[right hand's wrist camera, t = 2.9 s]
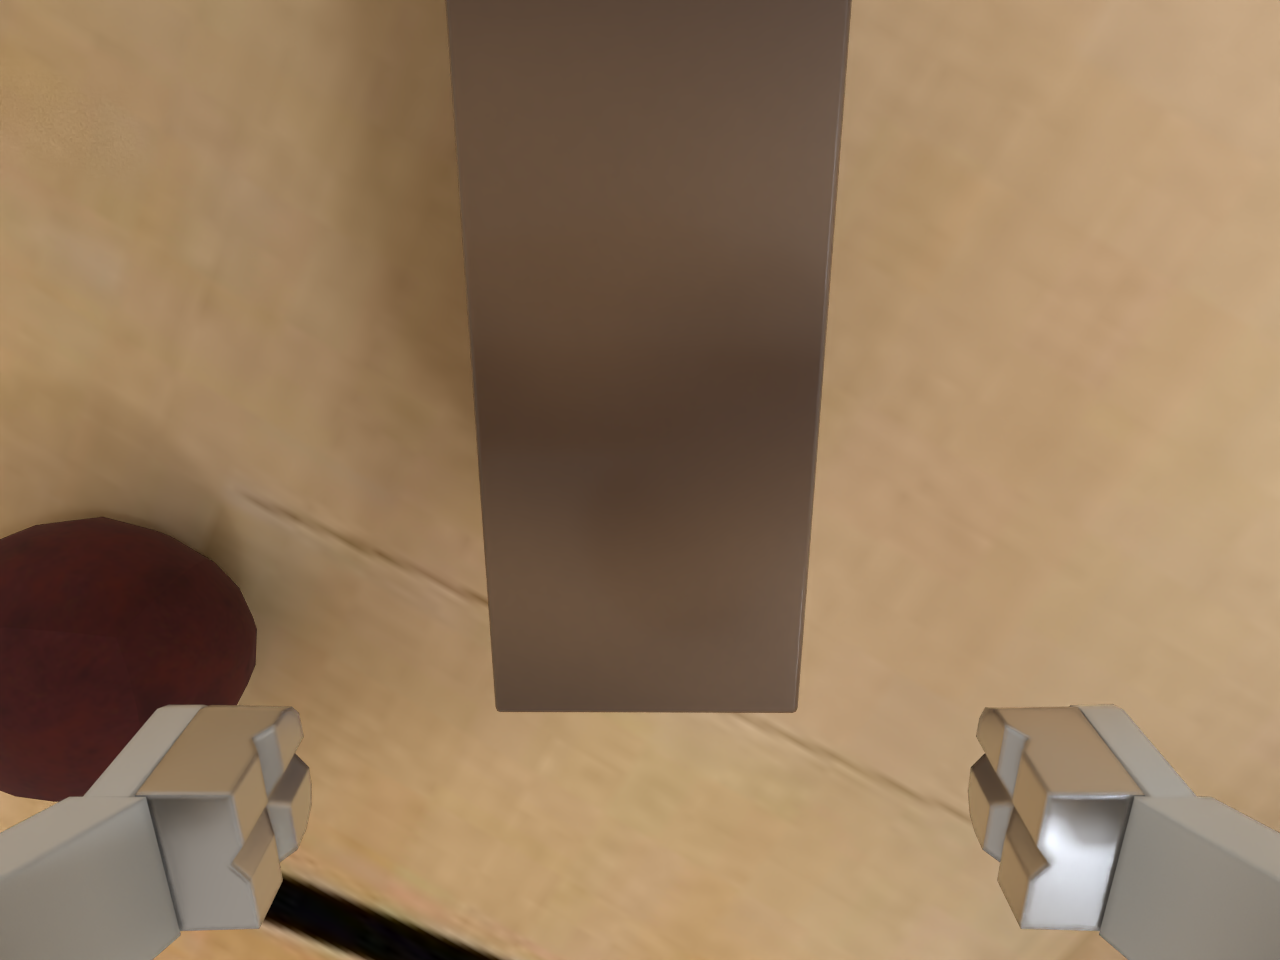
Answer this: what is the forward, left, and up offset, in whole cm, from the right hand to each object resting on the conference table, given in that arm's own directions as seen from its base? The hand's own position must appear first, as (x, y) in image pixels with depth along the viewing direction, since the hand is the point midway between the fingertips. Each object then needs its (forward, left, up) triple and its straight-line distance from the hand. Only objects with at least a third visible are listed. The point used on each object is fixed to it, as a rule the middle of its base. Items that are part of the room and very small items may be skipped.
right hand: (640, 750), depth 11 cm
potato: (-6, +14, -15) cm, 21 cm away
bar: (+9, 0, -15) cm, 17 cm away
